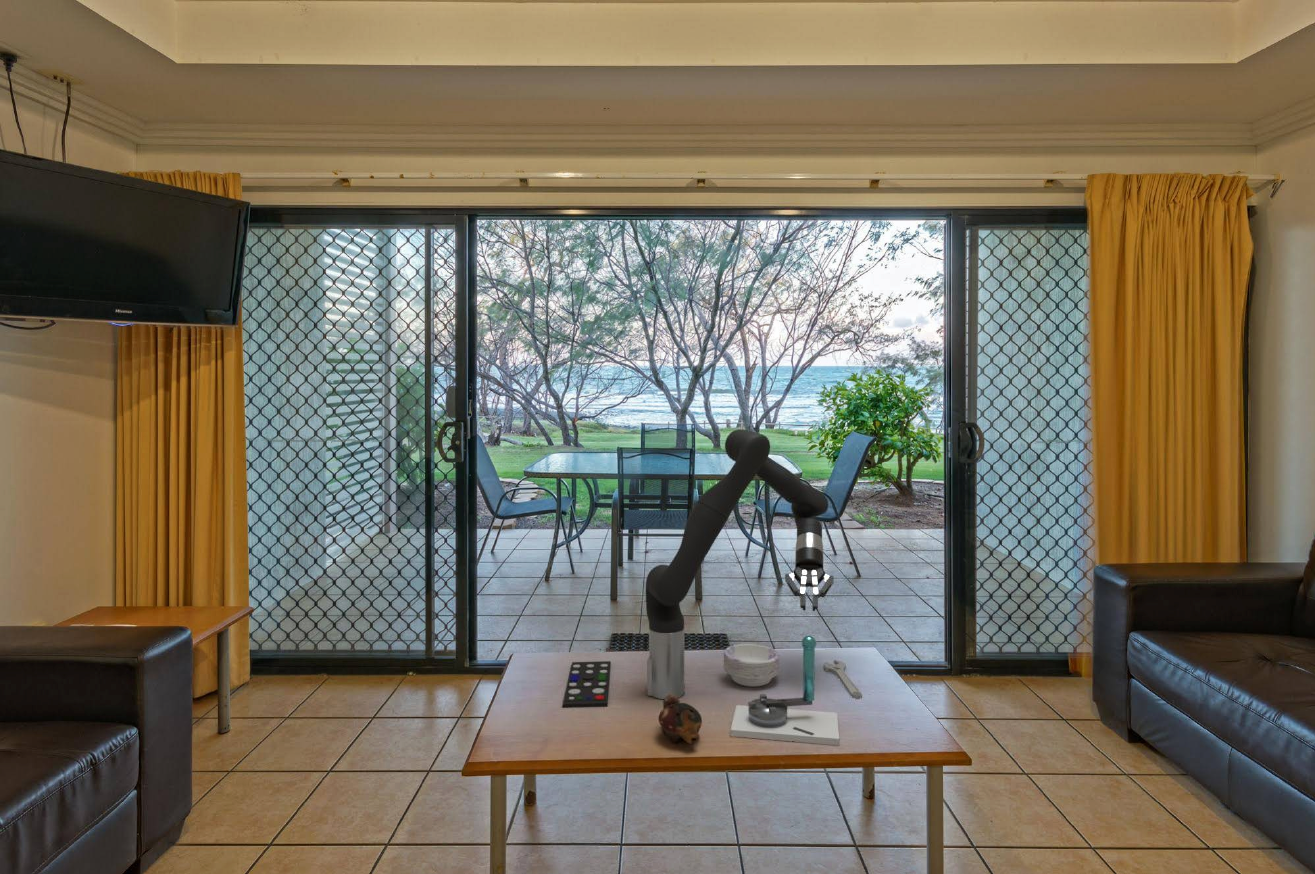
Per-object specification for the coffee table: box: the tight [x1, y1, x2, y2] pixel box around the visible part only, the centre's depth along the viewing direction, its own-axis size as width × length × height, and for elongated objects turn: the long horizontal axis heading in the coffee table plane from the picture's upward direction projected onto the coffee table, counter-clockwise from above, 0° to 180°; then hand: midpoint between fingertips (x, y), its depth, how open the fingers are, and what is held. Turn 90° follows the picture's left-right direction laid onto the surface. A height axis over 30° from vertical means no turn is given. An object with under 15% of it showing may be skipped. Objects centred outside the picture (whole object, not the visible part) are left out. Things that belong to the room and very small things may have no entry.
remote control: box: [562, 660, 612, 709], centre depth 200 cm, size 11×30×2 cm, turn 2°
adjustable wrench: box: [823, 659, 863, 700], centre depth 201 cm, size 25×6×2 cm, turn 177°
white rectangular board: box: [730, 704, 840, 746], centre depth 172 cm, size 24×14×2 cm, turn 78°
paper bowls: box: [723, 643, 781, 688], centre depth 201 cm, size 15×15×8 cm
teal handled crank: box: [747, 635, 817, 727], centre depth 173 cm, size 16×9×19 cm, turn 98°
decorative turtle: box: [658, 695, 703, 745], centre depth 167 cm, size 10×15×8 cm, turn 27°
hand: (809, 609), depth 193 cm, fingers closed
